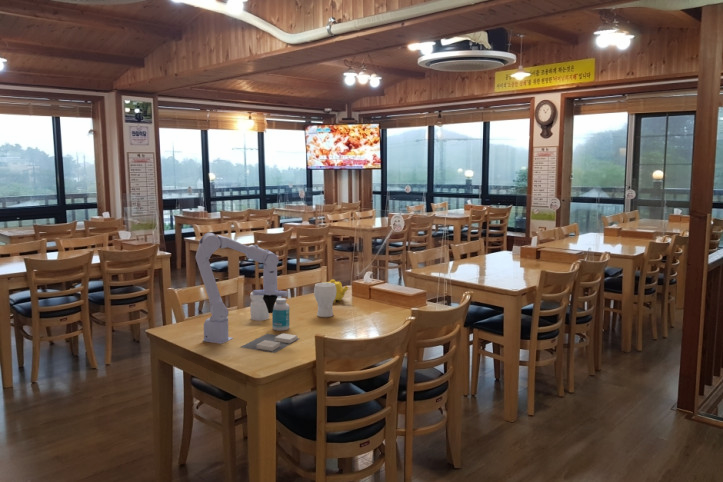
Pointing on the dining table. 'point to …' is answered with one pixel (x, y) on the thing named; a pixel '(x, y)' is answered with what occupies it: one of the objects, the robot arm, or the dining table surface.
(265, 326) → the dining table surface
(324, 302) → the cup
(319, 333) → the dining table surface
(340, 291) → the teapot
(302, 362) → the dining table surface
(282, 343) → the mat
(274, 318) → the pill bottle
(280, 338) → the tile
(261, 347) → the tile
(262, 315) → the vase
